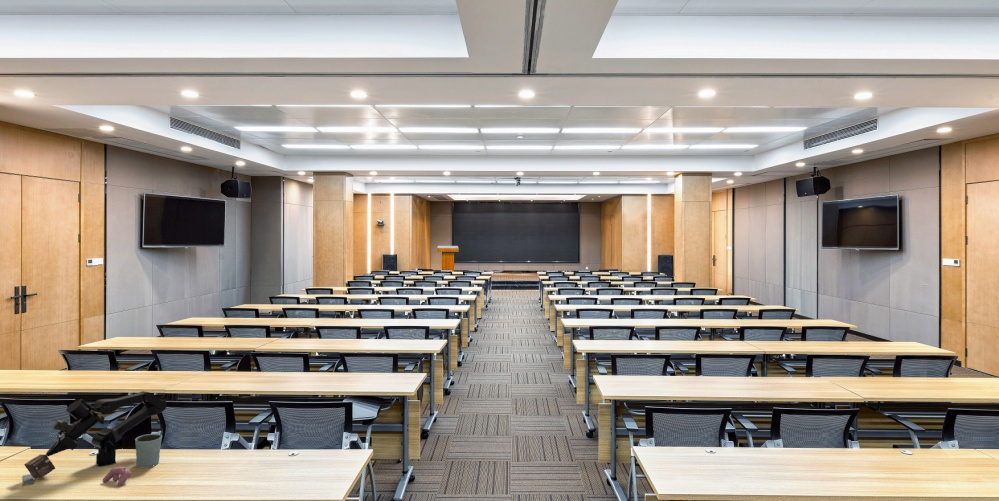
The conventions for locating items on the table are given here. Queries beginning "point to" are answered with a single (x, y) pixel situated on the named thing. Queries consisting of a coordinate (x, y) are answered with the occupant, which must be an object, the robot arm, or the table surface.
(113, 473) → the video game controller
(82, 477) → the table surface
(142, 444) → the grey cup
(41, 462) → the box
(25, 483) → the grey flat bar
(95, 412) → the robot arm
